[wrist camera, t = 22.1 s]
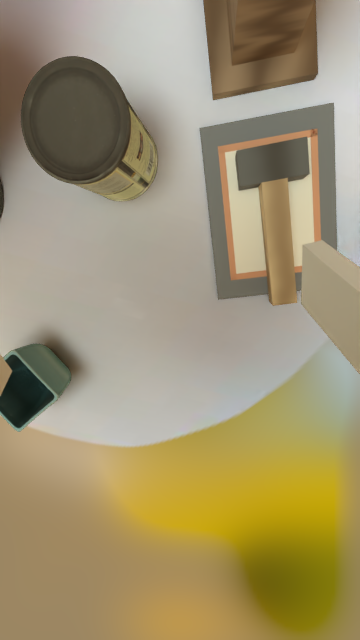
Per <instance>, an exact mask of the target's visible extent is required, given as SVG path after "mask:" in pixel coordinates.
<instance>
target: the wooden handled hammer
mask: <svg viewBox="0 0 360 640" xmlns="http://www.w3.org/2000/svg"><path fill="white" fill-rule="evenodd" d="M235 162H236V171H237V180H238V189H239V191H240V190H246V189H251V188H257V187H258V189H259V200H260V210H261V221H262V231H263V242H264V252H265V263H266V273H267V284H268V294H269V302H270V303H271V304H272V305H273V306H274V305H282V304H290V303H297V295H296V282H295V269H294V256H293V243H292V230H291V216H290V203H289V190H288V182H290V181H295V180H301V179H304V178H305V177H306V176H308V175H309V174H310V170H309V154H308V138H307V137H302V138H297V139H292V140H287V141H282V142H277V143H272V144H267V145H262V146H257V147H252V148H247V149H242V150H237V151H236V155H235Z"/></svg>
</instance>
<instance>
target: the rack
mask: <svg viewBox="0 0 360 640" xmlns="http://www.w3.org/2000/svg"><path fill="white" fill-rule="evenodd" d="M203 2H204V12H205V22H206V32H207V43H208V53H209V63H210V73H211V84H212V94H213V100H216V99H221V98H226V97H231V96H236V95H241V94H246V93H250V92H255V91H260V90H265V89H270V88H275V87H280V86H285V85H290V84H295V83H300V82H305V81H310V80H314V79H315V77H316V75H317V74H318V63H317V31H316V0H203Z"/></svg>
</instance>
